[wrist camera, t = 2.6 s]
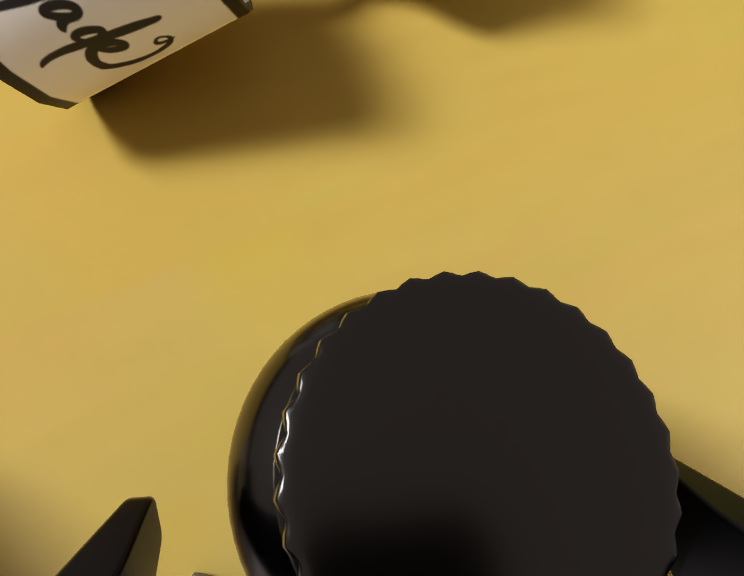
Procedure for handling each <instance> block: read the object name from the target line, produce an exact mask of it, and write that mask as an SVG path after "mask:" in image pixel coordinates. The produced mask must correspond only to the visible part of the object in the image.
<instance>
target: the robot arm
mask: <svg viewBox="0 0 744 576" xmlns="http://www.w3.org/2000/svg"><path fill="white" fill-rule="evenodd" d="M673 459H674V460H675V462H676V464H677V467H678V469H679V480H678V486H677V490H676V493H677V497H678V500H679V503H680V507H681V511H682V516H681V520H680V523H679V525H678V528H677V530H676V533H675V535H676V542H677V553H678V557H677V559H676V561H675V563H674V565H673V566H672V568H671V569H670V570H671V572H672V574H673V576H744V498H743V497H741V496H739V495H737V494H736V493H734V492H732V491H730V490H729V489H727V488H725V487H723V486H722V485H720V484H718V483H716V482H715V481H713V480H711V479H709V478H708V477H706V476H704V475H703V474H701V473H699V472H697V471H696V470H694V469H692V468H690V467H689V466H687V465H685V464H683V463H682V462H680V461H678V460H676V459H675V458H673ZM161 537H162V534H161V526H160V521H159V516H158V511H157V506H156V502H155V500H154V498H153V497H150V496H148V497H135V498H129V499H127V500H126V501H124V502H123V503H122V504H121V505H120V506H119V508H118V509H117V510H116V511H115V512H114V513H113V514H112V515H111V516H110V517H109V518H108V519H107V521H106V522H105V523H104V524H103V525H102V526H101V527H100V528H99V529H98V530H97V531H96V532H95V534H94V535H93V536H92V537H91V538H90V539H89V540H88V541H87V542H86V543H85V544H84V545H83V547H82V548H81V549H80V550H79V551H78V552H77V553H76V554H75V555H74V556H73V557H72V558H71V560H70V561H69V562H68V563H67V564H66V565H65V566H64V567H63V568H62V569H61V570H60V571H59V573H58V574H57V575H56V576H156V572H157V566H158V560H159V553H160V547H161Z"/></svg>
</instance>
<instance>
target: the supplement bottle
mask: <svg viewBox="0 0 744 576" xmlns="http://www.w3.org/2000/svg"><path fill="white" fill-rule="evenodd" d="M678 480H679V469H678V467H677V464H676V462H675V460H674V459H673V457H672V455H671V452H670V432H669V430H668V428H667V427H666V425H665V423H664V422H663V421H662V419H661V418H660V417H659V415H658V414H657V411H656V403H655V399H654V396H653V393H652V392H651V391H650V390H649V389H648V388H647V386H646V385H645V384H644V383H643V382H641V381H640V380H639V378H638V375H637V372H636V369H635V367H634V364H633V362H632V360H631V359H630V358H628V357H627V356H626V355H625V354H623V353H622V352H620V351H619V350H618V349H616V347H615V346H614V344H613V342H612V339H611V338H610V336H609V335H608V333H607V331H605V330H603V329H601V328H600V327H598V326H596V325H594V324H592V323H590V322H589V321H588V320H587V319H586V318H585V316H584V314H583V313H582V312H581V311H580V310H579V308H577V307H575V306H572V305H569V304H565V303H562V302H560V301H559V300H557V299H556V298H555V297H554V295H553V294H551V293H550V292H549V291H548V290H547V289H541V288H532V287H528V286H526V285H525V284H524V283H522V282H521V281H519V280H517V279H515V278H514V277H503V278H494V277H491V276H489V275H487V274H485V273H482V272H480V271H477V272H472V273H469V274H466V275H463V276H461V275H456V274H454V273H449V272H442V273H439V274H437V275H435V276H434V277H432V278H430V279H419V278H410V279H408V280H407V281H406V282H404V283H403V284H402V285H401V286H400V287H399V288H397V289H396V290H386V291H381V292H377V293H373V294H369V295H365V296H361V297H357V298H355V299H352V300H349V301H346V302H344V303H341V304H339V305H337V306H335V307H333V308H331V309H329V310H327V311H325V312H323V313H322V314H320V315H318V316H317V317H315V318H313V319H312V320H310V321H309V322H308V323H306V324H305V325H304V326H302V327H301V328H300V329H298V330H297V331H296V332H295V333H294V334H293V335H292V336H290V337H289V338H288V339H287V340H286V341H285V342H284V343H283V344H282V345H281V346H280V347H279V349H278V350H277V351H276V352H275V353H274V354H273V355H272V357H271V358H270V359H269V361H268V362H267V363H266V365H265V366H264V367H263V369H262V370H261V372H260V373H259V375H258V377H257V378H256V380H255V382H254V383H253V385H252V387H251V389H250V391H249V393H248V395H247V397H246V399H245V401H244V404H243V406H242V409H241V412H240V414H239V417H238V419H237V423H236V427H235V430H234V434H233V438H232V443H231V449H230V454H229V462H228V474H227V500H228V509H229V518H230V524H231V529H232V533H233V538H234V542H235V545H236V549H237V552H238V555H239V558H240V561H241V564H242V566H243V569H244V571H245V573H246V576H667V574H668V572H669V571H670V569H671V568H672V566H673V565H674V563H675V561H676V559H677V557H678V553H677V542H676V535H675V533H676V530H677V528H678V525H679V523H680V520H681V516H682V511H681V507H680V503H679V500H678V497H677V493H676V490H677V486H678Z"/></svg>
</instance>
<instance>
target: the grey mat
mask: <svg viewBox="0 0 744 576" xmlns="http://www.w3.org/2000/svg"><path fill="white" fill-rule="evenodd" d="M192 576H210V575H205V574H201V573H196V572H195V573H194V574H193V575H192Z"/></svg>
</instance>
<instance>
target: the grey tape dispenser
mask: <svg viewBox="0 0 744 576" xmlns="http://www.w3.org/2000/svg"><path fill="white" fill-rule="evenodd" d="M252 10H253V6H252V2H251V0H0V80H1V81H3V82H5V83H6V84H8V85H10V86H11V87H13V88H15V89H16V90H18V91H20V92H21V93H23V94H25V95H26V96H28V97H30V98H31V99H33V100H35V101H36V102H38V103H41V104H46V105H50V106H55V107H59V108H64V109H69V108H70V107H72V106H74V105H76V104H78V103H80V102H82V101H84V100H85V99H87V98H89V97H91V96H93V95H95V94H97V93H99V92H101V91H102V90H104V89H106V88H108V87H110V86H112V85H114V84H116V83H117V82H119V81H121V80H123V79H125V78H127V77H129V76H131V75H132V74H134V73H136V72H138V71H140V70H142V69H144V68H146V67H148V66H149V65H151V64H153V63H155V62H157V61H159V60H161V59H163V58H164V57H166V56H168V55H170V54H172V53H174V52H176V51H178V50H180V49H181V48H183V47H185V46H187V45H189V44H191V43H193V42H195V41H196V40H198V39H200V38H202V37H204V36H206V35H208V34H210V33H212V32H213V31H215V30H217V29H219V28H221V27H223V26H225V25H227V24H228V23H230V22H232V21H234V20H236V19H238V18H240V17H242V16H243V15H245V14H247V13H249V12H250V11H252Z"/></svg>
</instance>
